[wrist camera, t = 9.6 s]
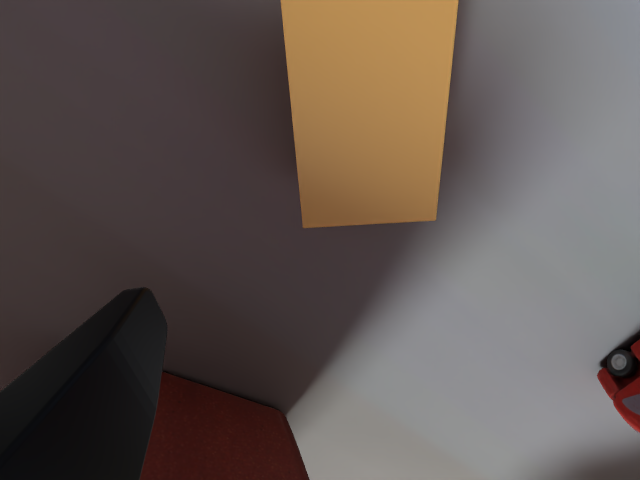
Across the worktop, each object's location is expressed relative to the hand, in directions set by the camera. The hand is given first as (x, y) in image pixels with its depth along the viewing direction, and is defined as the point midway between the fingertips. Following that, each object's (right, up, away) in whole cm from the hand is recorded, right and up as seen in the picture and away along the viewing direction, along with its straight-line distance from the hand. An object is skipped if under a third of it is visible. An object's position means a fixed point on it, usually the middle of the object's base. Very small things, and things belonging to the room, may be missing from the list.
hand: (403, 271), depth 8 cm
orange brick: (0, +6, +8) cm, 10 cm away
